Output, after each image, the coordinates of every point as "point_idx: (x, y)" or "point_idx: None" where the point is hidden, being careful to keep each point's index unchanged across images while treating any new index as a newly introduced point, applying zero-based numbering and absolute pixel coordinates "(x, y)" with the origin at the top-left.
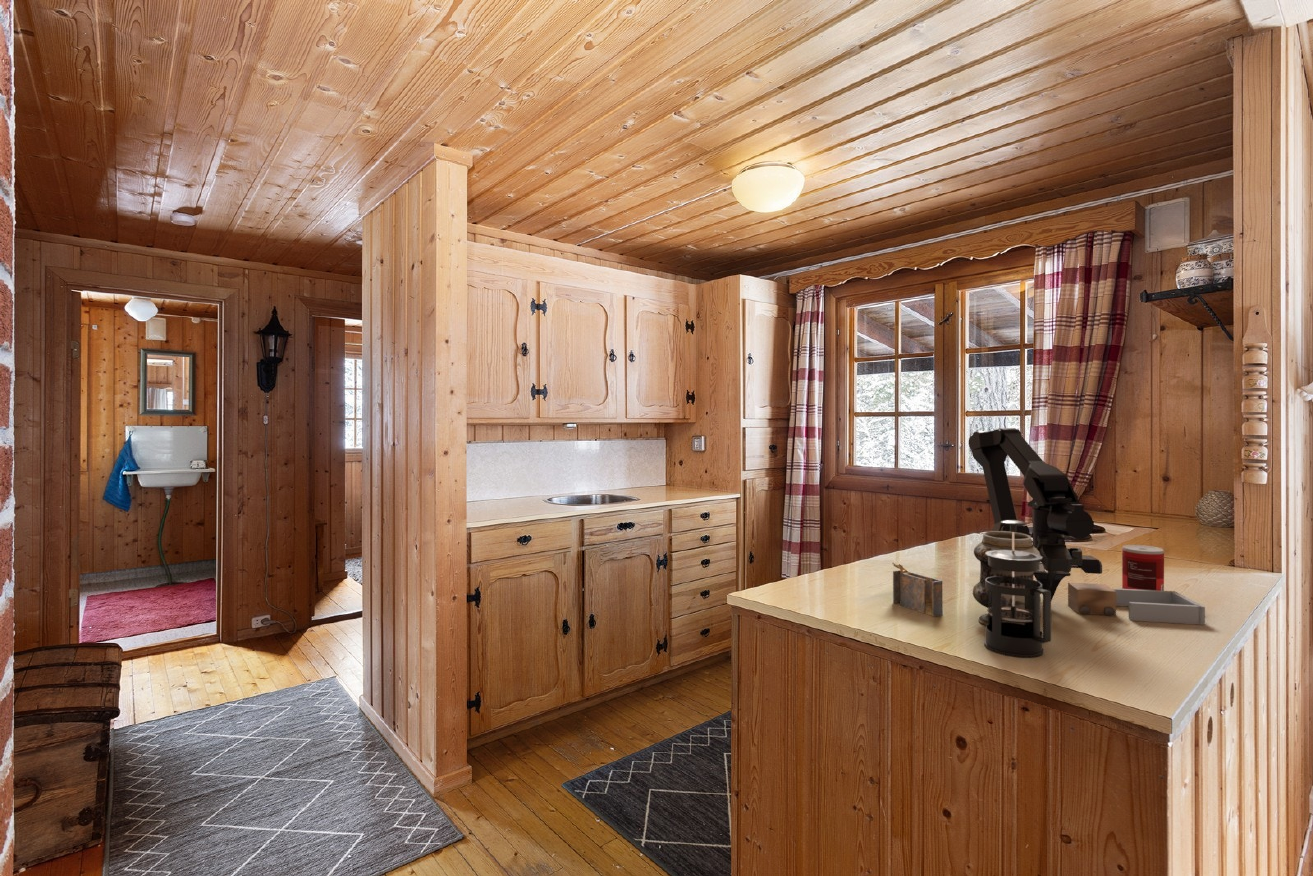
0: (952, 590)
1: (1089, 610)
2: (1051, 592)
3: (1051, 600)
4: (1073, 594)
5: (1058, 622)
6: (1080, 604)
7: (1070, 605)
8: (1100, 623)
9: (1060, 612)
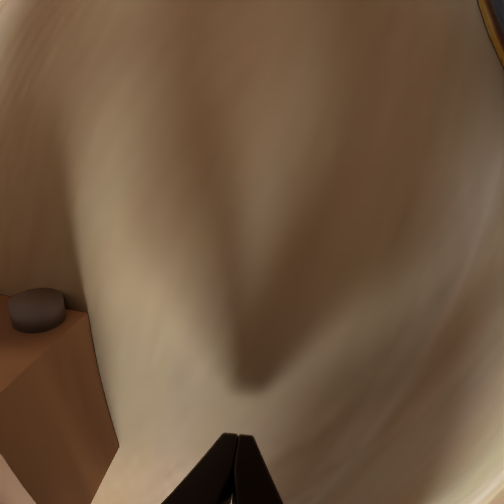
0: (495, 501)
1: (19, 297)
2: (208, 489)
3: (217, 441)
4: (53, 447)
5: (302, 40)
6: (37, 338)
7: (106, 427)
8: (30, 101)
9: (188, 328)
